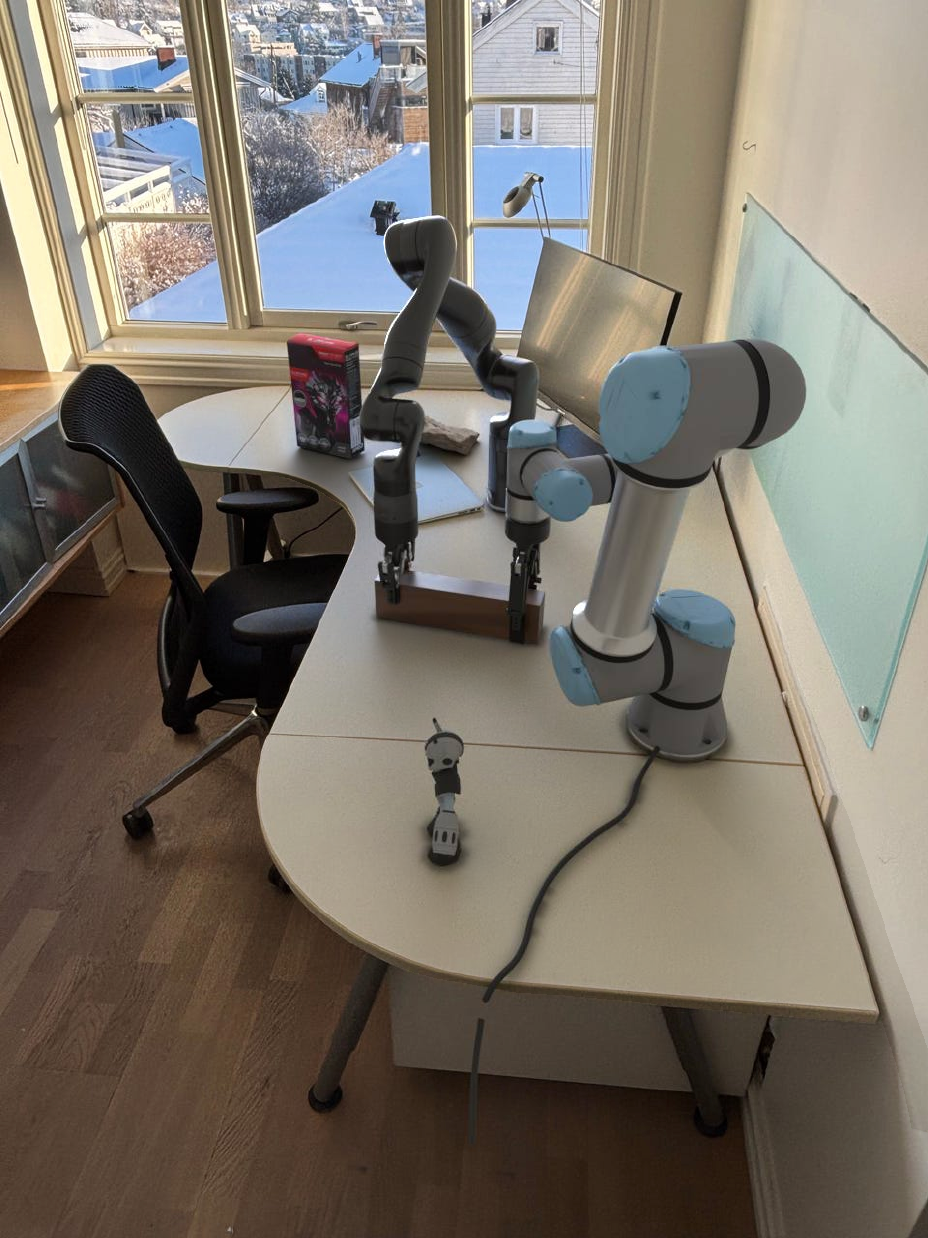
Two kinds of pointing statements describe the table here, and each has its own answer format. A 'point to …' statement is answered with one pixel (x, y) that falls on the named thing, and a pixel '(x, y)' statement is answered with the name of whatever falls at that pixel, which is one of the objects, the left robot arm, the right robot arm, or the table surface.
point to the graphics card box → (326, 394)
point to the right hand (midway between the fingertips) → (522, 628)
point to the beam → (458, 605)
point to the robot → (444, 794)
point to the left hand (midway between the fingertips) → (399, 594)
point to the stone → (448, 436)
